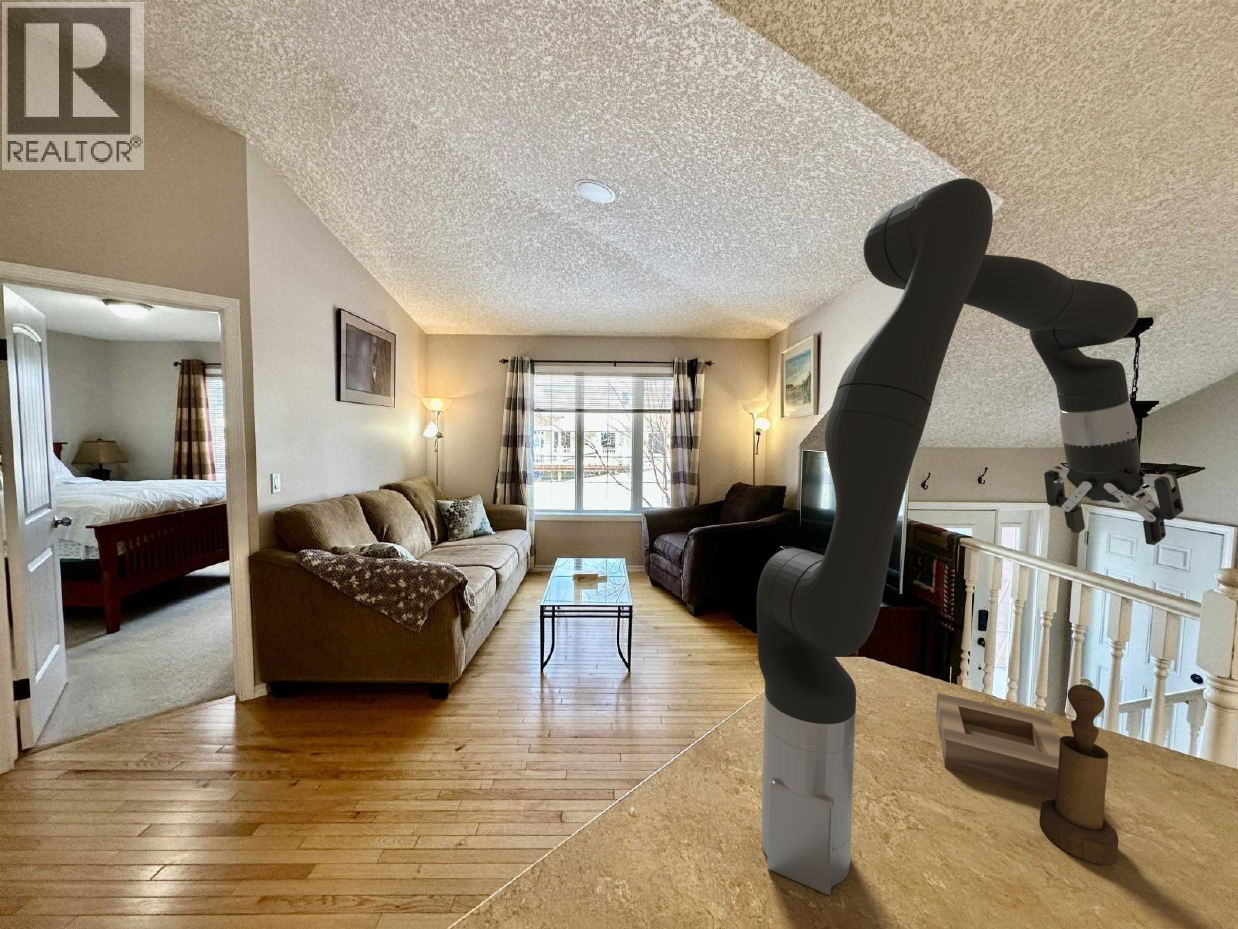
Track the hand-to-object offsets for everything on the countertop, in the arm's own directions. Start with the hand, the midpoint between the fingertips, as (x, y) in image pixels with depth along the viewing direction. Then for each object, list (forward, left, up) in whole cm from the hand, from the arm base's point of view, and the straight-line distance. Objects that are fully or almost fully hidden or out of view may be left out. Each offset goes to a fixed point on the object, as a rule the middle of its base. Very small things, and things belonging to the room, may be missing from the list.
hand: (1114, 536), depth 72 cm
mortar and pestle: (-26, +9, -32) cm, 42 cm away
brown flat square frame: (-12, +14, -32) cm, 37 cm away
